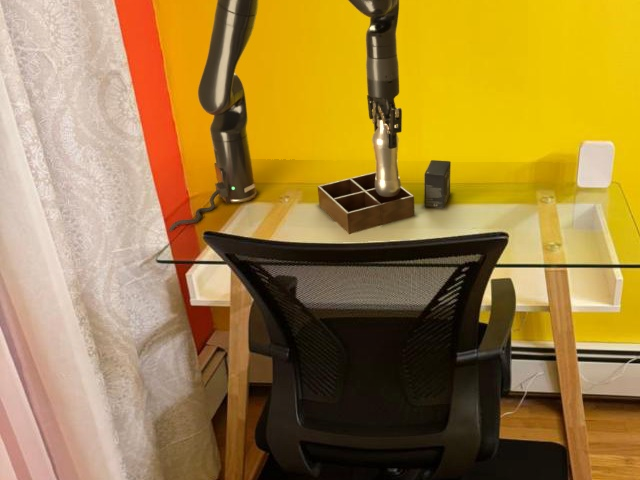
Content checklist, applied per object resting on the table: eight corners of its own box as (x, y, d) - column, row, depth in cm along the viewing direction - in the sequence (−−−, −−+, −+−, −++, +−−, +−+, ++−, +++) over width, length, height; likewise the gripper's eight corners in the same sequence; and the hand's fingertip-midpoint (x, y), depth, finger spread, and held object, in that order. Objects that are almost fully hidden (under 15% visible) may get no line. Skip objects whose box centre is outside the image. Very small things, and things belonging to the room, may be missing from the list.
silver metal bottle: (398, 200, 199) (395, 123, 187) (372, 199, 200) (368, 122, 188) (403, 189, 204) (401, 113, 192) (378, 188, 205) (374, 112, 193)
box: (444, 209, 206) (444, 175, 200) (423, 207, 207) (423, 173, 202) (450, 193, 213) (451, 160, 208) (430, 192, 214) (430, 159, 209)
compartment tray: (348, 233, 197) (347, 213, 193) (319, 205, 210) (317, 186, 207) (414, 216, 203) (414, 196, 200) (382, 189, 217) (381, 170, 213)
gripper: (355, 69, 188) (359, 137, 198) (382, 85, 177) (385, 156, 187) (383, 63, 190) (386, 131, 200) (411, 79, 180) (413, 149, 190)
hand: (385, 143), depth 194 cm, fingers closed on silver metal bottle, 6 cm apart
